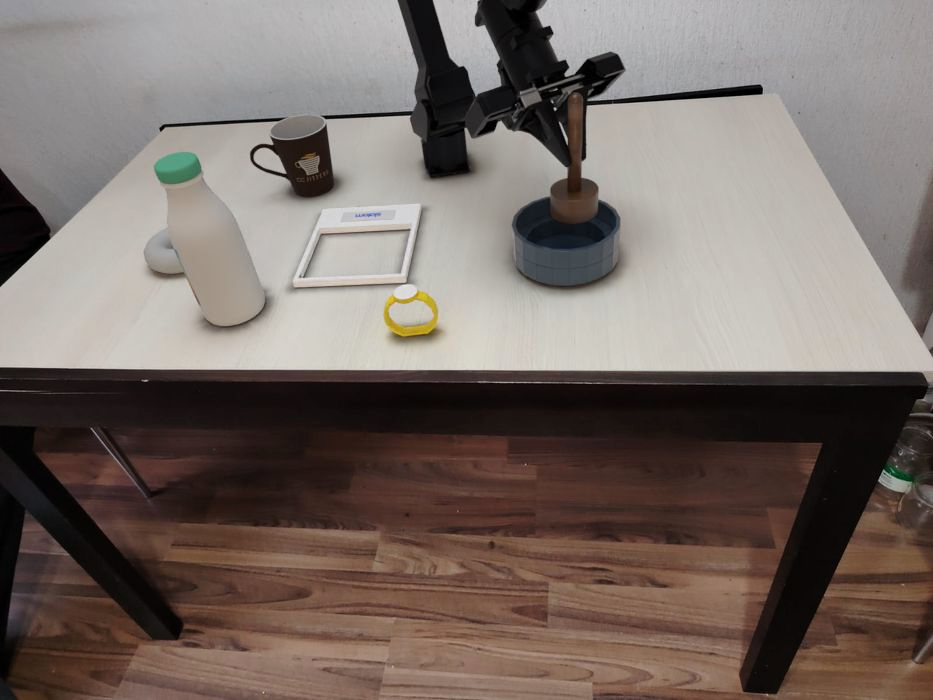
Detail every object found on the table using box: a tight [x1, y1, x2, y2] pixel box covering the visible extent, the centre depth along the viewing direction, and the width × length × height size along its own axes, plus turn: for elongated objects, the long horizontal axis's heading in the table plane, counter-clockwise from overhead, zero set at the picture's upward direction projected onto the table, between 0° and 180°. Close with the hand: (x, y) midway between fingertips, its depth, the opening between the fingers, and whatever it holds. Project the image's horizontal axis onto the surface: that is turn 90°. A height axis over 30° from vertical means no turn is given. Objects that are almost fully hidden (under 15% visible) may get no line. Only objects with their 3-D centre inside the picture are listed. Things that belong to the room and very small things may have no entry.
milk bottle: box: [153, 151, 266, 327], centre depth 77 cm, size 8×8×20 cm
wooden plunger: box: [549, 93, 600, 224], centre depth 75 cm, size 6×6×14 cm
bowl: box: [511, 195, 621, 287], centre depth 83 cm, size 13×13×6 cm
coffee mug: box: [249, 114, 335, 198], centre depth 103 cm, size 12×9×10 cm
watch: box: [383, 283, 439, 338], centre depth 75 cm, size 6×3×6 cm, turn 90°
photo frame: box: [291, 203, 423, 288], centre depth 91 cm, size 15×1×18 cm
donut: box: [143, 227, 184, 275], centre depth 93 cm, size 10×4×10 cm
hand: (576, 163), depth 75 cm, fingers closed on wooden plunger
